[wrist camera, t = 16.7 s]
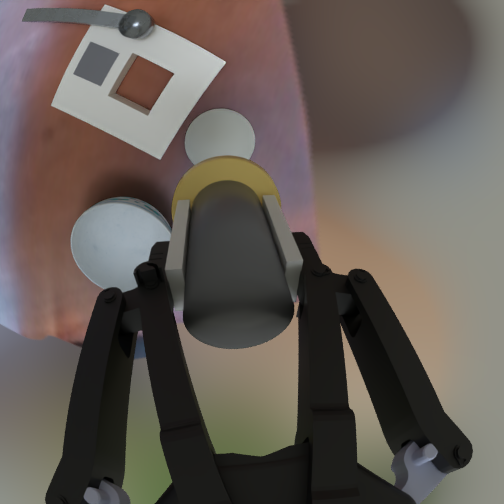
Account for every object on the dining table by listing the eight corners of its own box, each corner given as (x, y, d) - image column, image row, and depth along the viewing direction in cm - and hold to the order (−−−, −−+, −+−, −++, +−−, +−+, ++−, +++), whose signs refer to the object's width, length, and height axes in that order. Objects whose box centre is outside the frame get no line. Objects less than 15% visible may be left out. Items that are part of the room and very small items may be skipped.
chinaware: (202, 220, 41) (202, 253, 35) (144, 276, 45) (137, 310, 39) (124, 156, 33) (105, 178, 27) (73, 226, 37) (55, 256, 31)
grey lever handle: (159, 16, 19) (155, 12, 17) (147, 42, 21) (141, 40, 19) (40, 4, 13) (29, 2, 11) (30, 28, 15) (19, 27, 13)
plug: (162, 200, 21) (128, 335, 11) (209, 124, 18) (207, 211, 8) (235, 237, 25) (256, 372, 14) (286, 173, 21) (356, 291, 11)
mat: (172, 153, 34) (171, 153, 33) (210, 95, 30) (210, 95, 29) (228, 184, 38) (229, 186, 37) (268, 133, 34) (269, 133, 33)
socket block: (61, 101, 26) (45, 107, 22) (113, 8, 20) (100, 2, 16) (163, 152, 33) (158, 163, 30) (225, 62, 27) (227, 61, 24)
